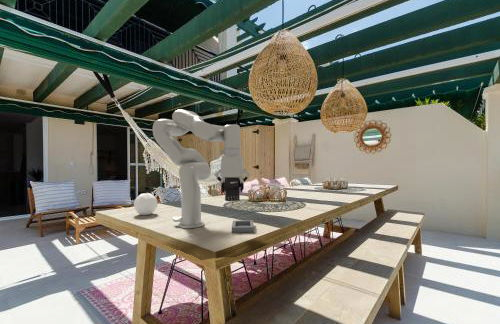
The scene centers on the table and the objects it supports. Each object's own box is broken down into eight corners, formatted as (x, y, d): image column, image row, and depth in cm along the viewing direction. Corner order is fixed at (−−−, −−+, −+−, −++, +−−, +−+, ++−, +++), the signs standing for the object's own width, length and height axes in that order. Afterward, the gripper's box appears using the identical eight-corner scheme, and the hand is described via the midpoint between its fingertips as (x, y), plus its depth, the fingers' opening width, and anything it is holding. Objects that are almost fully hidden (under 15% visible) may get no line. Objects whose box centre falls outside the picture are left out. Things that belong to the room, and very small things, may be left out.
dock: (231, 233, 117) (231, 227, 117) (233, 225, 130) (232, 220, 130) (253, 232, 117) (253, 227, 117) (253, 225, 130) (252, 220, 130)
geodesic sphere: (147, 201, 169) (138, 186, 161) (165, 202, 166) (157, 187, 157) (135, 219, 158) (125, 203, 150) (154, 220, 155) (145, 204, 147)
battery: (226, 202, 115) (226, 176, 114) (224, 200, 118) (224, 175, 118) (241, 201, 117) (241, 175, 117) (238, 199, 121) (238, 175, 121)
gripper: (211, 152, 114) (211, 192, 114) (251, 152, 113) (251, 192, 114) (214, 152, 121) (214, 190, 122) (251, 152, 121) (251, 190, 121)
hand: (232, 191), depth 118 cm, fingers closed on battery, 7 cm apart
